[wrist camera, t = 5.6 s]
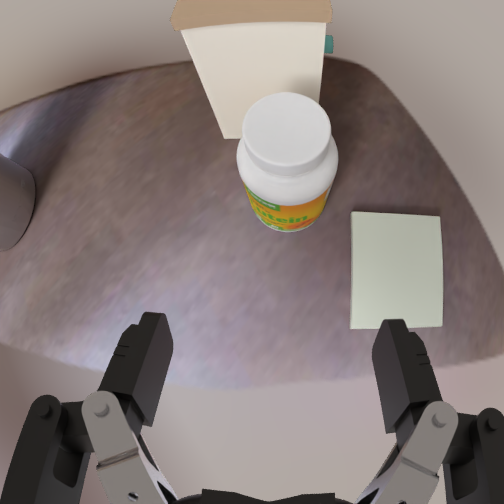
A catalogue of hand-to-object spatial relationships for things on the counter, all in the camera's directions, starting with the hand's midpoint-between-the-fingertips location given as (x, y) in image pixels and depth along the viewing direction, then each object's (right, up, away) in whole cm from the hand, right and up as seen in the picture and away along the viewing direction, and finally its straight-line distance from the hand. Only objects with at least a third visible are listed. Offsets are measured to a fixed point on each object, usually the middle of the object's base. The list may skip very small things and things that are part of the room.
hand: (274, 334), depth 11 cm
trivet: (+9, +2, +10) cm, 14 cm away
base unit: (+1, +14, +13) cm, 19 cm away
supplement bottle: (+2, +7, +12) cm, 14 cm away
